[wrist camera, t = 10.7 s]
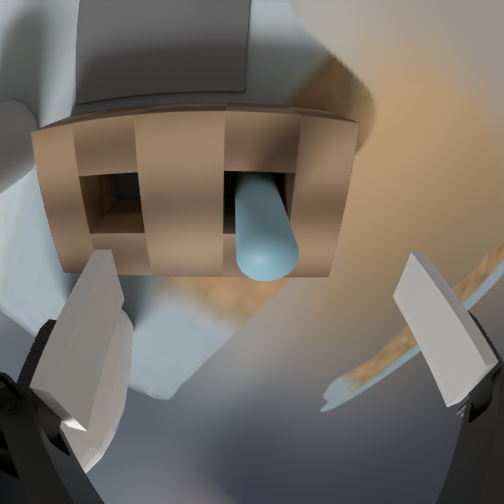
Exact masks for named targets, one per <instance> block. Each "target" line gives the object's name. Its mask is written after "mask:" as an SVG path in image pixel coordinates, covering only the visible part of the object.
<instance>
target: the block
mask: <svg viewBox="0 0 504 504" xmlns="http://www.w3.org/2000/svg"><path fill="white" fill-rule="evenodd" d="M358 130H359V123H357V122H355V121H353V120H351V119H348V118H346V117H344V116H341V115H339V114H336V113H334V112H331V111H325V110H317V109H309V108H300V107H290V106H278V105H263V104H240V103H190V104H167V105H153V106H141V107H131V108H122V109H114V110H107V111H100V112H93V113H87V114H81V115H76V116H70V117H67V118H65V119H62V120H59V121H57V122H54V123H52V124H49V125H47V126H44V127H42V128H39V129H37V130H35V131H32V132H31V137H32V145H33V151H34V158H35V164H36V170H37V175H38V180H39V185H40V190H41V194H42V199H43V203H44V207H45V211H46V215H47V219H48V223H49V226H50V230H51V233H52V237H53V240H54V243H55V246H56V250H57V253H58V256H59V259H60V262H61V265H62V268H63V270H64V272H68V273H82V272H83V270H84V268H85V266H86V265H87V263H88V261H89V259H90V258H91V256H92V254H93V253H94V251H95V250H111V251H112V255H113V259H114V263H115V267H116V271H117V274H118V275H146V276H188V277H248V276H246V275H245V274H244V273H243V272H242V271H241V270H240V268H239V266H238V264H237V260H236V216H235V199H225V171H257V172H280V173H279V184H278V192H279V195H280V197H281V200H282V203H283V206H284V208H285V211H286V214H287V217H288V220H289V222H290V225H291V228H292V231H293V234H294V237H295V240H296V242H297V245H298V249H299V258H298V262H297V264H296V266H295V267H294V268H293V270H292V271H291V272H290V273H288V274H287V275H286V276H284V277H328V276H329V273H330V269H331V265H332V261H333V257H334V253H335V249H336V245H337V240H338V236H339V231H340V227H341V223H342V218H343V213H344V208H345V203H346V198H347V193H348V188H349V183H350V177H351V172H352V167H353V161H354V155H355V149H356V143H357V136H358ZM132 172H138V179H139V188H140V197H141V199H135V200H116V198H115V191H114V184H113V176H112V174H115V173H132Z"/></svg>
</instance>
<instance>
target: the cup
mask: <svg viewBox="0 0 504 504" xmlns="http://www.w3.org/2000/svg"><path fill="white" fill-rule="evenodd" d="M37 129H38V126H37V123H36V119H35V116H34V114H33V113H32V112H31V111H30V109H29V108H28V107H27V106H26V105H25V103H21V102H18V101H15V100H10V101H6V102H3V103H0V194H1V193H2V192H4V191H5V190H6V189H8V188H9V187H10V186H12V185H13V184H15V183H16V182H17V181H19V180H20V179H22V178H23V177H24V176H25V175H26V174H27V173H28V172H29V171H30V170H31V169H32V168H33V167H34V164H35V158H34V151H33V145H32V137H31V132H32V131H35V130H37Z"/></svg>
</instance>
